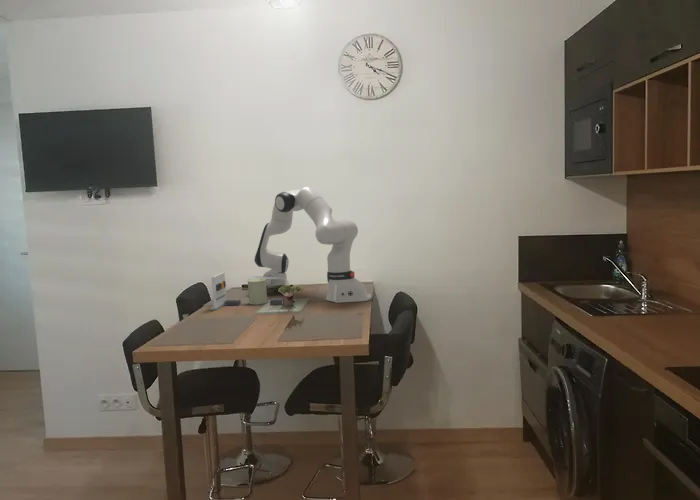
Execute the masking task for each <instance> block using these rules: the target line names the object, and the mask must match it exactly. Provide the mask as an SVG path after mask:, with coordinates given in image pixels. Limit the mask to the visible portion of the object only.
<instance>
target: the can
mask: <svg viewBox="0 0 700 500" xmlns="http://www.w3.org/2000/svg"><path fill="white" fill-rule="evenodd" d="M247 287H248V304H249V305H255V306H256V305H263V304H264V305H265V304H267V303H268V302H269V301H268V295H267V293H268V292H267V291H268V290H267V286H266V279H251V280H249V279H248V280H247Z"/></svg>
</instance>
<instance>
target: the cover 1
mask: <svg viewBox="0 0 700 500" xmlns="http://www.w3.org/2000/svg"><path fill="white" fill-rule="evenodd" d="M225 301H226V302H225V305H224V306H225V307H231V306H232V307H233V306H234V307H235V306H237V307H239V306H241V303H242V302H241V299H226V300H225Z"/></svg>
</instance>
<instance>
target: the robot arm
mask: <svg viewBox="0 0 700 500" xmlns="http://www.w3.org/2000/svg"><path fill="white" fill-rule="evenodd" d="M302 210H304V212H305V213H306V214H307V215H308V217H309V218H310V219H311V220H312V221H313V223H314V225H315V227H316V229H315V238H316V240H317V241H318V243H319V244H321V245H328V246H329V245H331V246H332V247H331V249H330V252H329V253H328V254H327V258H326V259H327V271H326V272H327V273H326V276H327V277H326V279H327V280H326V281H327V293H326V301H328V302H333V303H335V304H338V303H354V302H355V303H356V302H367V301H370V300H371V299H372V295H371V294H370V293H368V292H367V288H366V285H365V284H364V283H362V282H361V281H360V280H358V279H357V278H356V277H355V271H353V270H351V259H350V258H351V251H352V245H353V243H354V241H355V239H356V238H357V235H358V233H359V230H358V226H357V224H356V223H355V222H354V221H353V220H347V219H343V220H335V219H334V218H333V216H332V214H333V209H332V207H331V206H330V205H329V204H328V202H326V200H325V199H324V198H323V196H321V194H320V193H319V192H317V191H316V190H315V189H314V188H312V187H311V186H304V187H302V188H300V189H291V190H286V191H282V192H279V193H278V194H276V196H275V198H274V204H273V207H272V213H271V218H270V221H269V222H268V223H266V224H265V225H264V227H263V230H262V233H261V237H260V239H259V243H258V247H257V249H256V250H257V251H256V253H255V256H254V263H255V264H256V265H257V267H259V268H267V269H270V270H268V271H266V272H265V273H264V274H263V275H262V276H260V275H259V276H252V277H249V278H248V280H251V279H266V288H267V287H268V288H274V287H279V286H286V285H287V284H288V279H287V277H288V275H287V273H286V272H287V271H288V268H289V258H288V256H287V254H286V253H284V252H283V253H282V252H279V251H274V250H273V251H272V250H268V248H267V247H268V243H269V239H270V237H272V236H275V235H281V234H285V233H286V232H288V231H289V230H290V229H291V227H292V225H293V215H294V212H298V211H302Z"/></svg>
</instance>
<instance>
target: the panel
mask: <svg viewBox="0 0 700 500" xmlns="http://www.w3.org/2000/svg"><path fill="white" fill-rule="evenodd" d="M226 286H227V284H226V277H225V272H220V273H218V274H216V275H214V276H211V289H212V302H213V303H212V304H213V306H212V307H210V308H209V309H210V311H217V310H219V309H221V308H223V307H224V306H225V302H226V301H225V300H227V292H226V288H227V287H226Z"/></svg>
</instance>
